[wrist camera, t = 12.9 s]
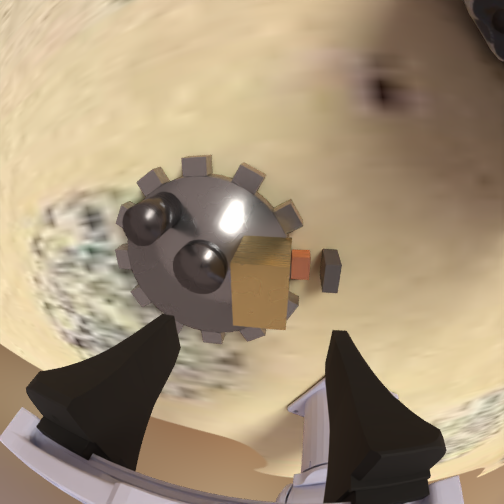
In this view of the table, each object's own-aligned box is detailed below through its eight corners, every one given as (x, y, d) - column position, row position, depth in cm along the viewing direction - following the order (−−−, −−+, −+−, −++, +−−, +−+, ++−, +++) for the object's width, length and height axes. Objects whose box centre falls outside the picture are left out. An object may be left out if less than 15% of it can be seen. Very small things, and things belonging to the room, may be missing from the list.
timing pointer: (319, 274, 20) (322, 292, 18) (322, 248, 19) (325, 264, 17) (333, 275, 20) (337, 293, 18) (336, 249, 19) (341, 265, 17)
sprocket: (238, 113, 16) (218, 106, 12) (341, 294, 20) (350, 335, 16) (94, 222, 21) (58, 244, 16) (191, 351, 25) (174, 389, 20)
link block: (244, 235, 18) (230, 262, 14) (291, 237, 18) (290, 266, 14) (244, 289, 20) (233, 325, 16) (288, 292, 19) (285, 329, 16)
